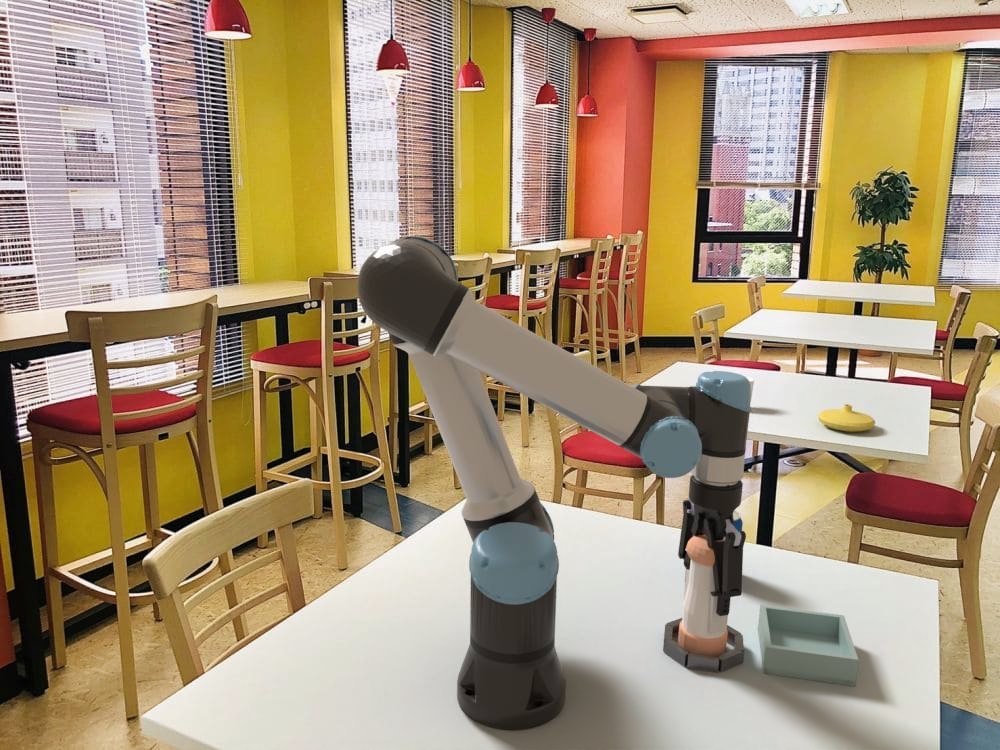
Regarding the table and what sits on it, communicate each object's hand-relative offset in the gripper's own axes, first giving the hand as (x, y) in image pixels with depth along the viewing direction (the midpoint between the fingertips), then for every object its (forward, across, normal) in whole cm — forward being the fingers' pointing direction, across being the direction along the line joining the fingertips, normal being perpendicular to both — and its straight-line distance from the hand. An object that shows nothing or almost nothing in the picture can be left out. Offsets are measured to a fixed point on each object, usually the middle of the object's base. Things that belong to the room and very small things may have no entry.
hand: (704, 619), depth 125 cm
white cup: (+5, +118, -83) cm, 145 cm away
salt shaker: (+5, 0, 0) cm, 5 cm away
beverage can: (+5, +21, -16) cm, 27 cm away
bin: (+5, -6, -14) cm, 16 cm away
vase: (+5, +93, -103) cm, 138 cm away
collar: (+5, 0, 0) cm, 5 cm away
